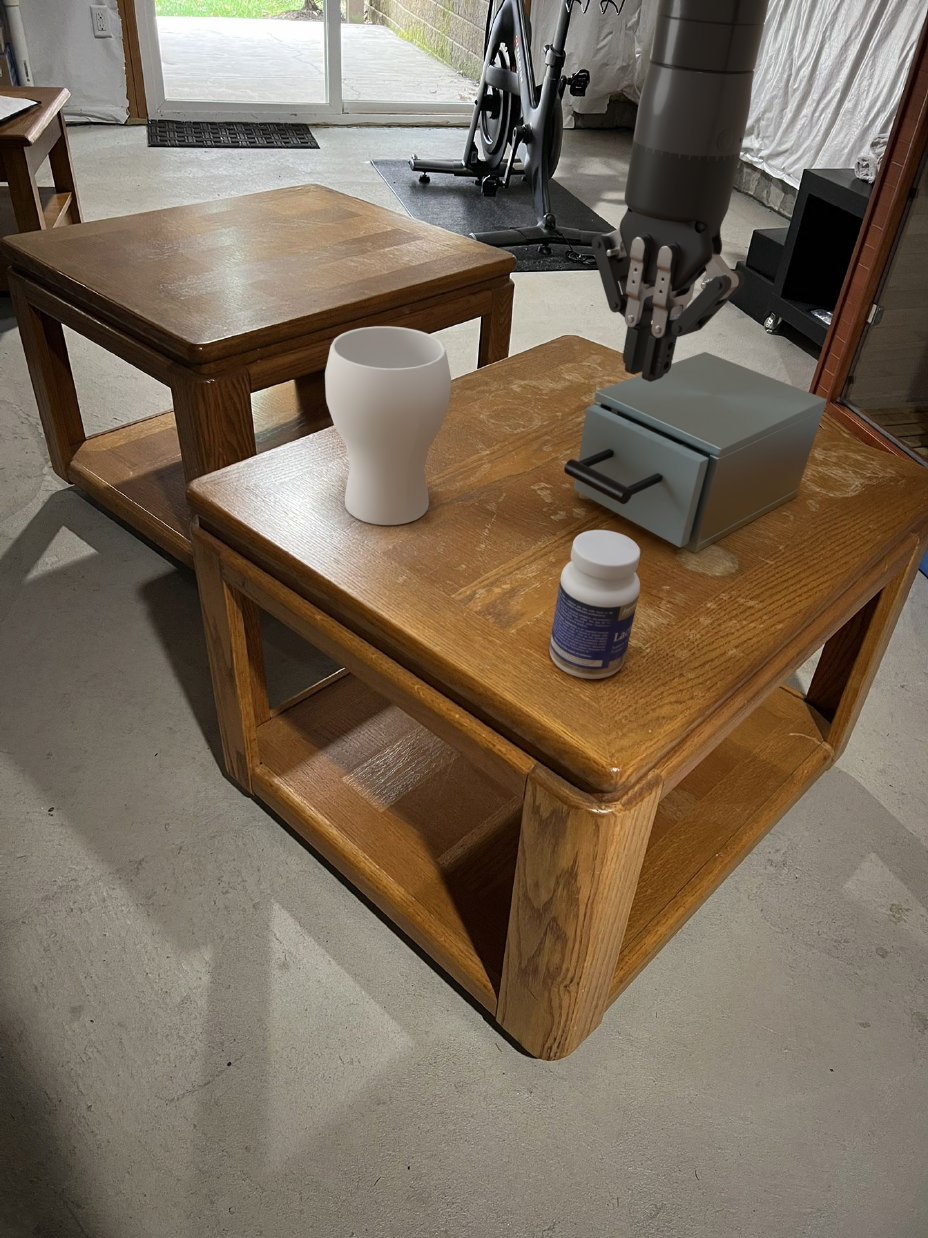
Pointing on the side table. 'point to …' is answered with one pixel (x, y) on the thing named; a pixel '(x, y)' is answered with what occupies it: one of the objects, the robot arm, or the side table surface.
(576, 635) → the pill bottle
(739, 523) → the drawer cabinet
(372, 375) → the cup
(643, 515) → the drawer
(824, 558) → the side table surface
